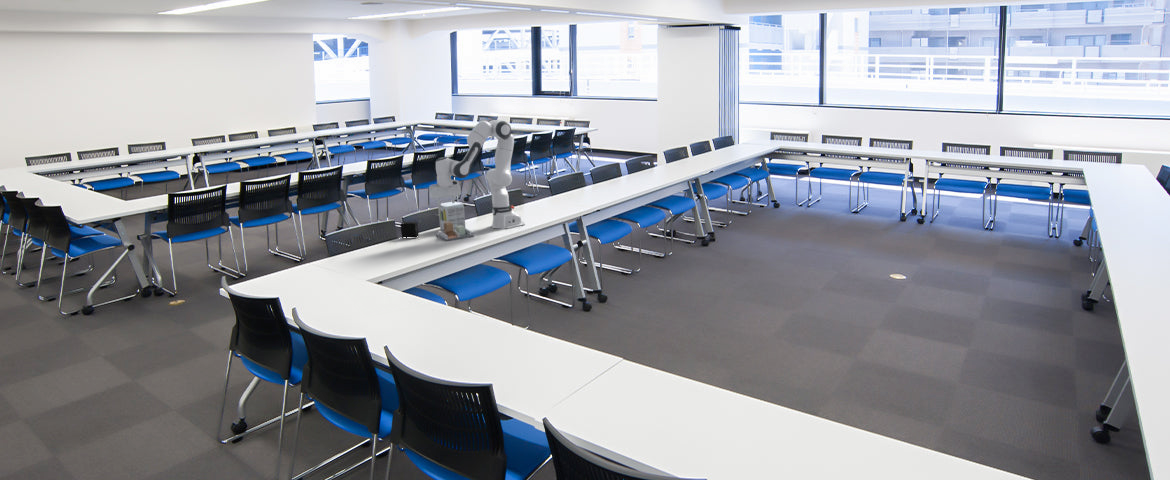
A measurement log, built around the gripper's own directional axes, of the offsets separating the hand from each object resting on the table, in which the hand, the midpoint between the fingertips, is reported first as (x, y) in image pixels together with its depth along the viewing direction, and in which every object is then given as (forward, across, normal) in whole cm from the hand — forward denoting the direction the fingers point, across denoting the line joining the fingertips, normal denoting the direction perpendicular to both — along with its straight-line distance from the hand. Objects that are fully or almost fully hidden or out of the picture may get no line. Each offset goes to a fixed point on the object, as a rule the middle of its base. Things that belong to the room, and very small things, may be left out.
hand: (446, 203), depth 488 cm
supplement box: (+22, +9, +20) cm, 31 cm away
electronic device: (+22, -22, +15) cm, 34 cm away
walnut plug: (+20, -1, -1) cm, 21 cm away
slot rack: (+22, +3, -2) cm, 22 cm away
